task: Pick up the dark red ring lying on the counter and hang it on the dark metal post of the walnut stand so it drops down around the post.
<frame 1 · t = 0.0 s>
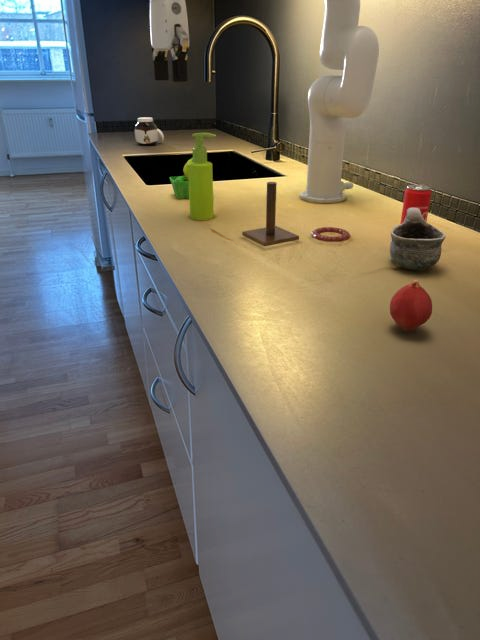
hand: (170, 80, 111), 31 cm above the worktop, tool pointing down, fingers open, 9 cm apart
grey stoneware bowl: (409, 265, 99), on the worktop
spread jar: (150, 144, 239), on the worktop
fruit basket: (192, 197, 148), on the worktop
ring: (330, 235, 113), point 1 cm above the worktop
beverage can: (410, 243, 110), on the worktop
soap dispenser: (203, 217, 129), on the worktop
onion: (406, 331, 75), on the worktop
stand: (270, 240, 112), on the worktop
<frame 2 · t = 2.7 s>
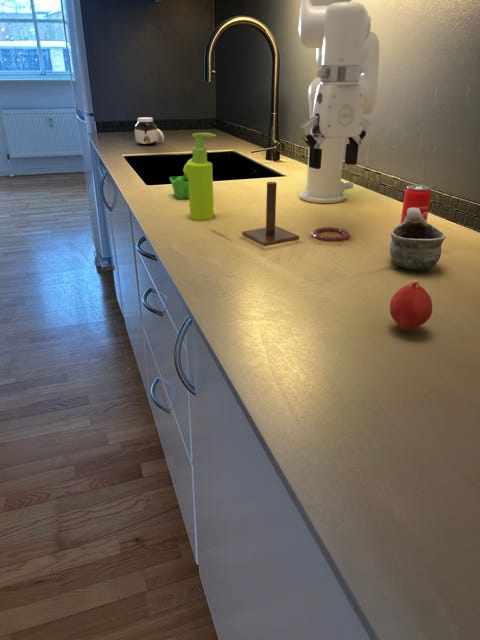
hand: (332, 165, 108), 15 cm above the worktop, tool pointing down, fingers open, 9 cm apart
nothing on the worktop moved.
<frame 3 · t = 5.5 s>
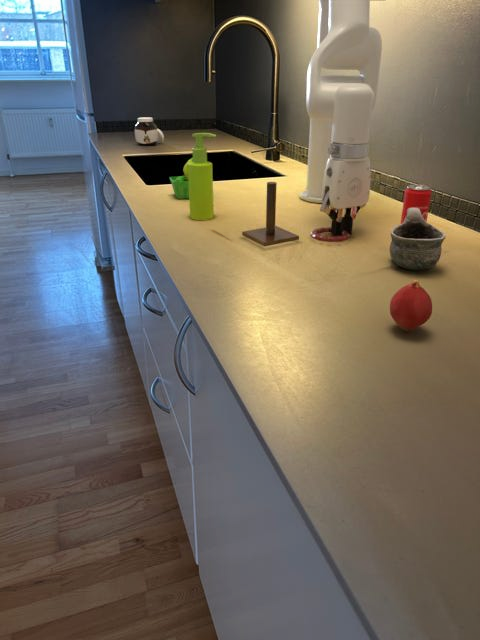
hand: (340, 236, 114), 0 cm above the worktop, tool pointing down, fingers closed on ring, 2 cm apart
ring: (330, 235, 112), point 1 cm above the worktop, touching gripper
everything else where it was.
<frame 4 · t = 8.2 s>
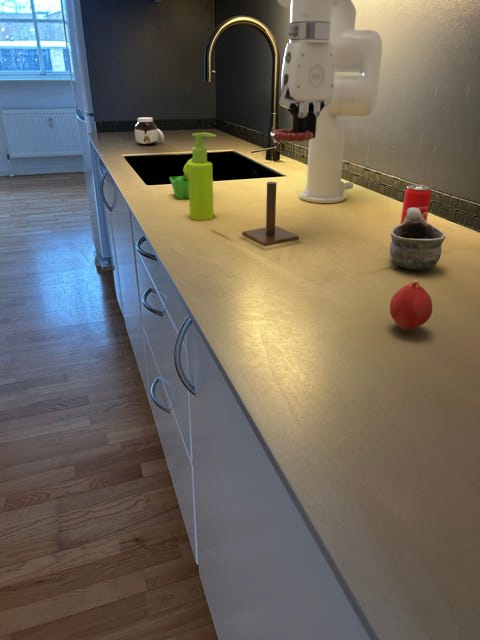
hand: (303, 137, 104), 21 cm above the worktop, tool pointing down, fingers closed on ring
ring: (291, 135, 102), point 22 cm above the worktop, touching gripper
everything else where it was.
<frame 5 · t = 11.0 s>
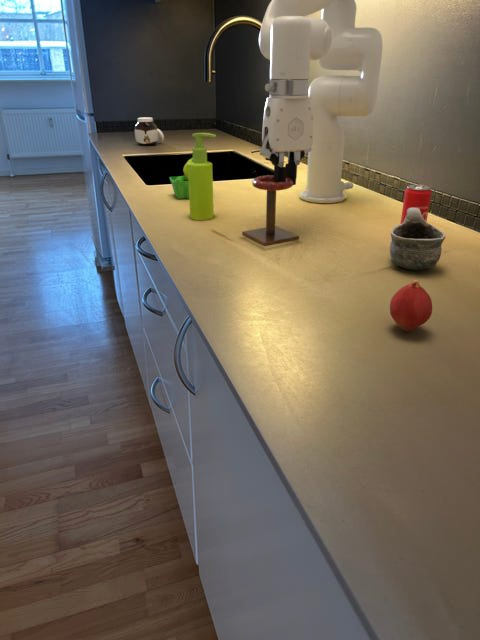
hand: (285, 184, 108), 12 cm above the worktop, tool pointing down, fingers closed on ring
ring: (272, 182, 106), point 12 cm above the worktop, touching gripper
everything else where it was.
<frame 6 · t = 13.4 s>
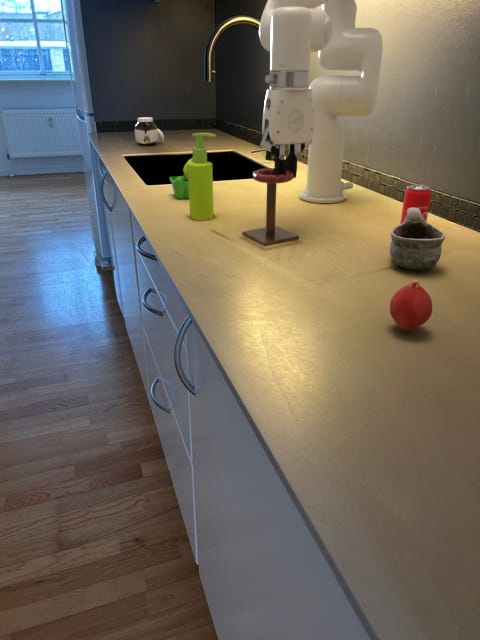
hand: (285, 176, 108), 13 cm above the worktop, tool pointing down, fingers closed on ring
ring: (273, 175, 106), point 14 cm above the worktop, touching gripper
everything else where it was.
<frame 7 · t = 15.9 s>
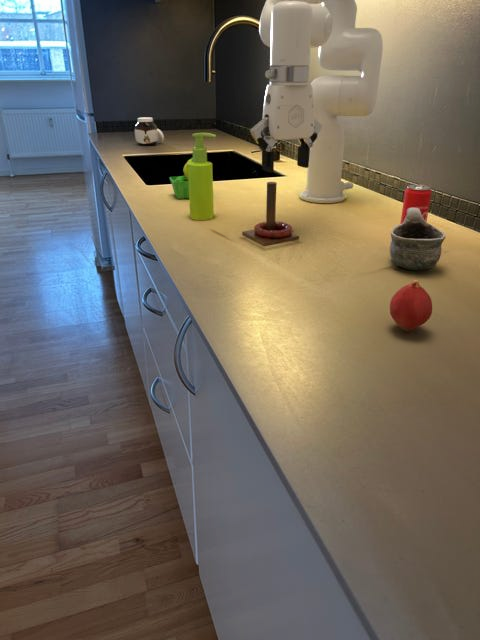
hand: (285, 168, 107), 15 cm above the worktop, tool pointing down, fingers open, 8 cm apart
ring: (273, 229, 111), point 2 cm above the worktop, touching stand
everything else where it was.
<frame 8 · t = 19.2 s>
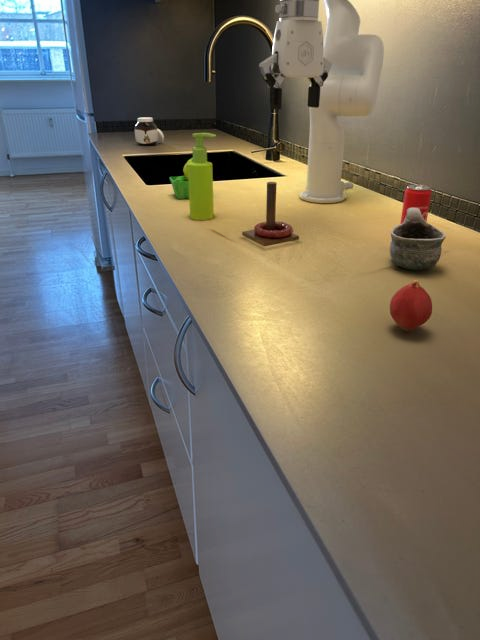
hand: (294, 108, 107), 26 cm above the worktop, tool pointing down, fingers open, 9 cm apart
nothing on the worktop moved.
at the end: ring 0.8 cm from the stand (horizontally); ring point 2.3 cm above the worktop; the gripper is holding nothing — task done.
